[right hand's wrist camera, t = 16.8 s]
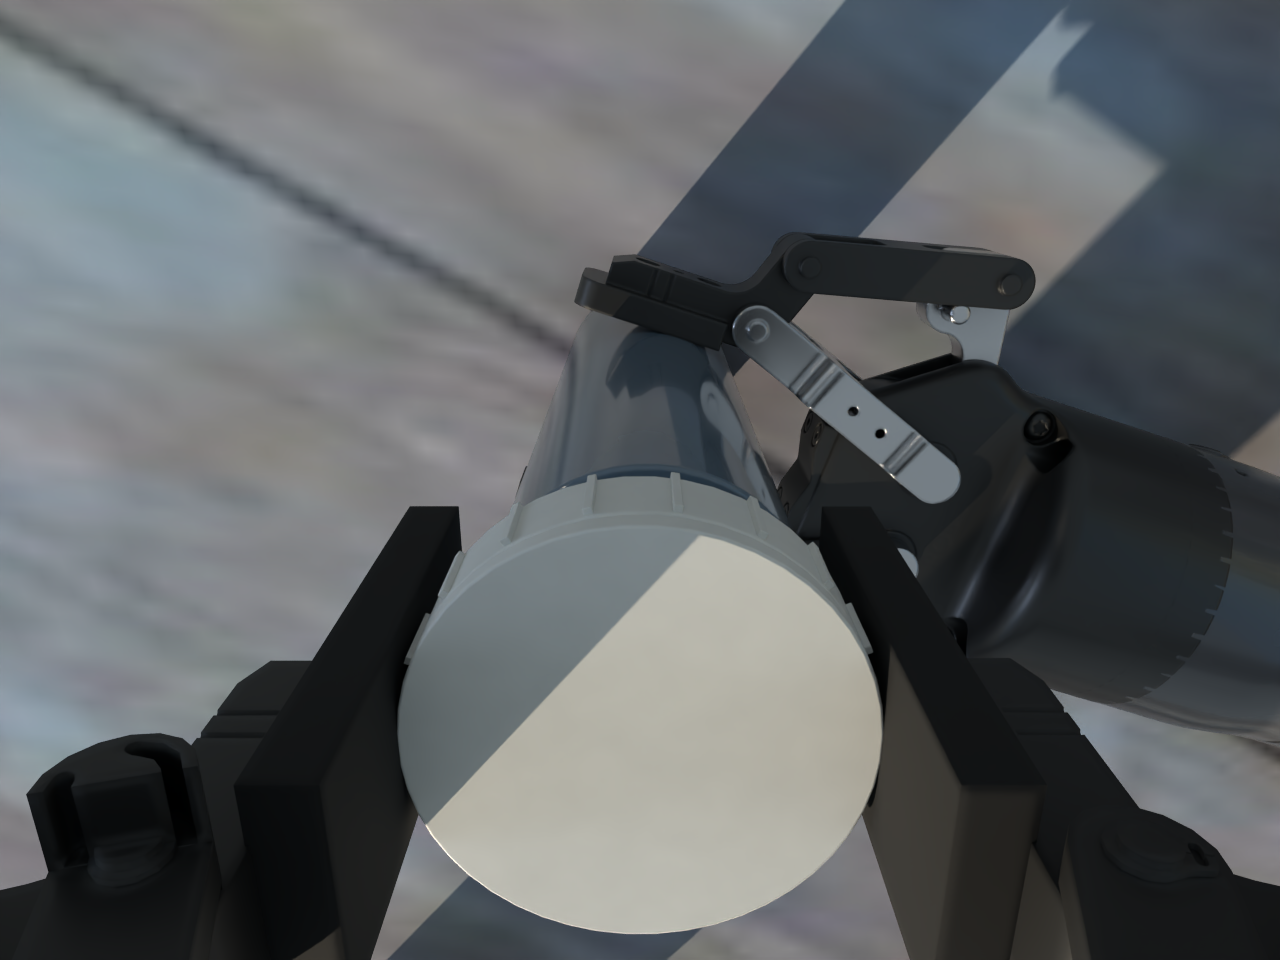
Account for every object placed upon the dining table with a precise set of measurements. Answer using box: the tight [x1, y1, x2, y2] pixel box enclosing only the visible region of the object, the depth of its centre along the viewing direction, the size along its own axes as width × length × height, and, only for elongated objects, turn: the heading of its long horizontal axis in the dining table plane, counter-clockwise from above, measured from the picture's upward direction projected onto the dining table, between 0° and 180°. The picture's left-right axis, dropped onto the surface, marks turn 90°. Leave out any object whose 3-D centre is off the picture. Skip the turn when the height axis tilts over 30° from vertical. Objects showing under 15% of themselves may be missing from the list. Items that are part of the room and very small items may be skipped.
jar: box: [513, 311, 793, 531], centre depth 21 cm, size 5×5×19 cm
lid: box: [397, 472, 884, 934], centre depth 11 cm, size 6×6×2 cm
